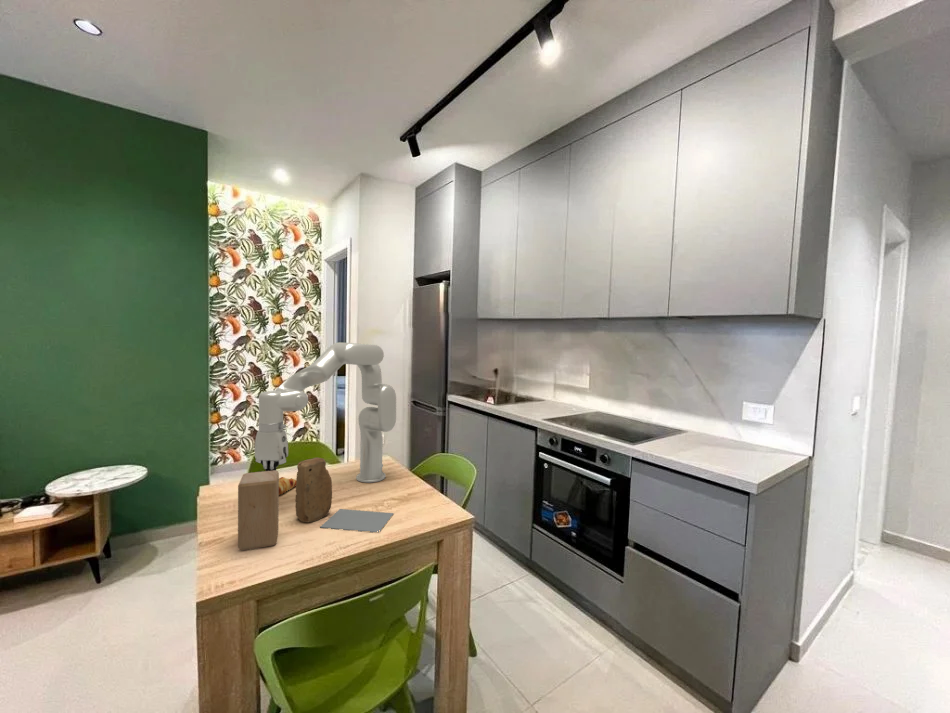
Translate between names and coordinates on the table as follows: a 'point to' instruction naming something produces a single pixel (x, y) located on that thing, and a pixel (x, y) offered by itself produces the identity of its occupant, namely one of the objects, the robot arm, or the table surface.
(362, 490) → the table surface
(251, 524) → the wooden block
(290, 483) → the croissant
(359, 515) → the mat
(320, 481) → the brown rounded lump
